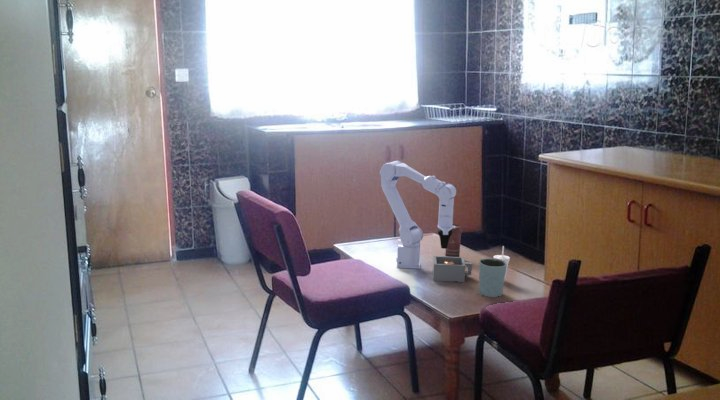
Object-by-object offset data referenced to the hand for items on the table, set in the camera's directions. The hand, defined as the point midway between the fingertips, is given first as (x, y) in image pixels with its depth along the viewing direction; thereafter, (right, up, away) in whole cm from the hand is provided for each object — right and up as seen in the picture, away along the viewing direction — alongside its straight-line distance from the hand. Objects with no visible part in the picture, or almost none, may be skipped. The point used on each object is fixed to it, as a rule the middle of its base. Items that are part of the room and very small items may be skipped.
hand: (443, 248), depth 292 cm
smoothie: (+21, -12, -7) cm, 25 cm away
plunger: (+1, -10, -4) cm, 11 cm away
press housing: (+3, -11, -4) cm, 12 cm away
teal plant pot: (+15, -15, -23) cm, 31 cm away
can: (+6, -6, +23) cm, 25 cm away
